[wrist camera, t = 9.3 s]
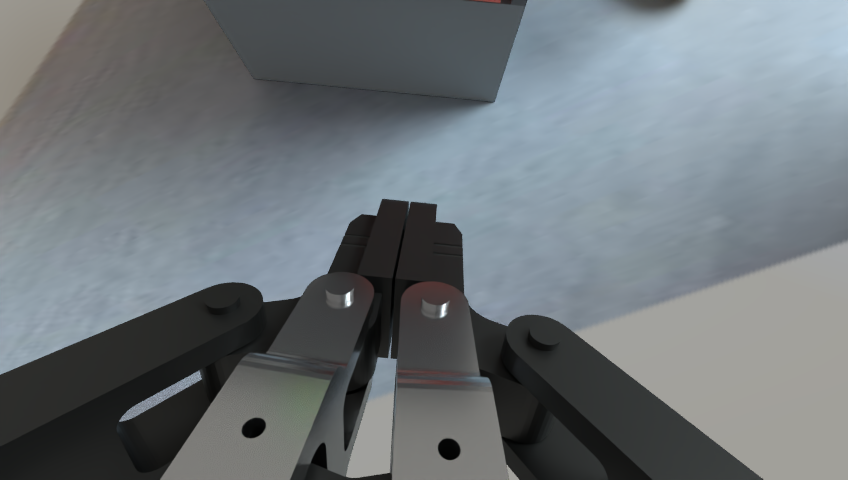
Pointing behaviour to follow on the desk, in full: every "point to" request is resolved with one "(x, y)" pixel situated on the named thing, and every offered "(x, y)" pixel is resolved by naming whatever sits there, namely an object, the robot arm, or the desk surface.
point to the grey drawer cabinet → (376, 43)
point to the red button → (490, 1)
